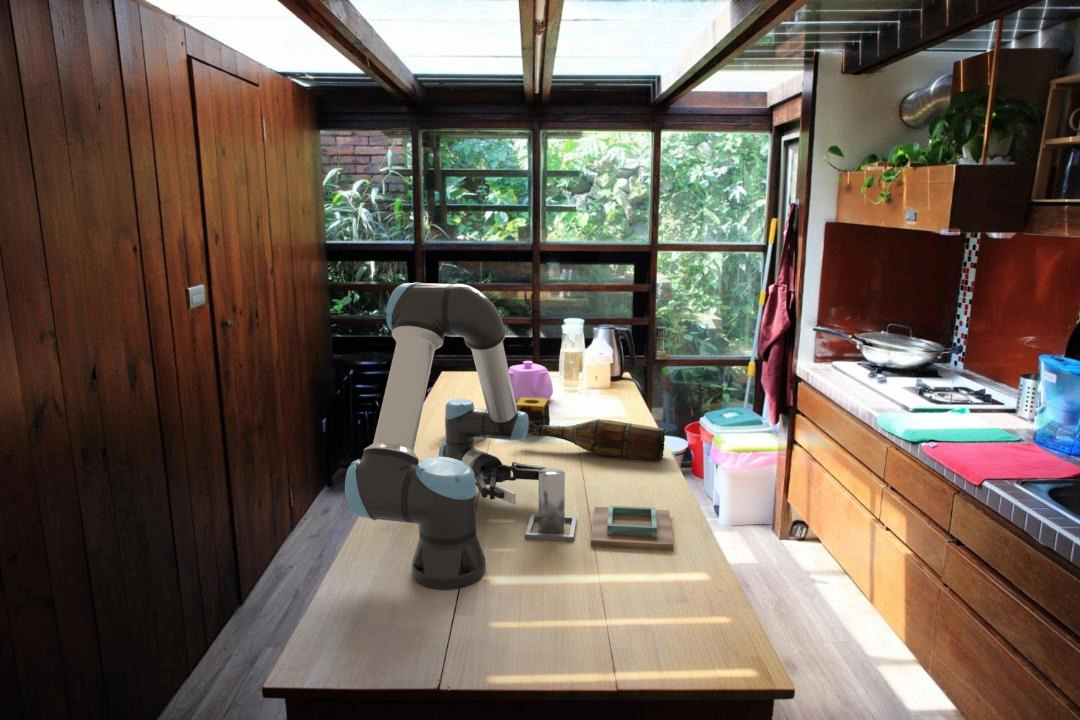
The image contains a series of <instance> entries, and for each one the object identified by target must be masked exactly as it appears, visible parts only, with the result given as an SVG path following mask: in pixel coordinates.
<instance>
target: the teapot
mask: <svg viewBox="0 0 1080 720" xmlns="http://www.w3.org/2000/svg"><path fill="white" fill-rule="evenodd" d="M508 370H509V375H510V379H511V384H512V389H513V394H514V398H515V403H517V402H518V401H519V400H520V398H521V397H526V398H547V399H549V400H550V399H551V398H552V396H553V395H554V390H553V389H554V388H553V381H552V378H551V376H550V373H549V371H548V368H546V366H543V365H541V364H537V363H534V362H533V361H532V360H525V361H522V364H516V365H512V366H511V365H510V367H508Z"/></svg>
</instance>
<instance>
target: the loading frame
mask: <svg viewBox="0 0 1080 720" xmlns="http://www.w3.org/2000/svg"><path fill="white" fill-rule="evenodd" d="M535 521H539V513H538V514H535V513H531V514H530V517H529V520H528V523H527V527H526V531H525V533H524V539H526V540H527V539H528V540H546V541H560V542H561V541H563V542H565V541H566V542H574V541H575V540H574V539H575V534H576V528H577V523H578V515H577V516H574V515H565V522H568V523H569V522H570V523H571V524H570V529H569V534H563V533H561V534H543V533H541V532H533V527H534V524H535Z"/></svg>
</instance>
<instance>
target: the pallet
mask: <svg viewBox="0 0 1080 720" xmlns="http://www.w3.org/2000/svg"><path fill="white" fill-rule="evenodd" d="M593 510H594V511H593V518H592V526H591V535H590V547H594V548H595V547H598V548H601V547H602V548H616V549H633V550H649V551H651V550H653V551H654V550H655V551H668V552H670V551H672V552H673V551H674V539H673V532H672V523H671V514H670V510H669V509H656V507H648V506H647V507H645V506H626V505H621V506H620V505H608V506H607V507H606V506H594V509H593Z"/></svg>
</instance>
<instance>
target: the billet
mask: <svg viewBox="0 0 1080 720" xmlns="http://www.w3.org/2000/svg"><path fill="white" fill-rule="evenodd" d="M565 474H566V472H565V471H564V470H563V469H561V468H557V467H546V468H545V469H542V470H540V471H539V480H538V514H539V520H538V531H539V533H543V534H563V533H564V532H565V526H566V525H565V516H566V515H565V511H566V510H565V508H566V507H565V505H566V504H565V502H566V501H565V500H566V496H565V495H566V494H565V493H566V492H565V491H566V488H565V487H566V484H565V483H566V475H565Z"/></svg>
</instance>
